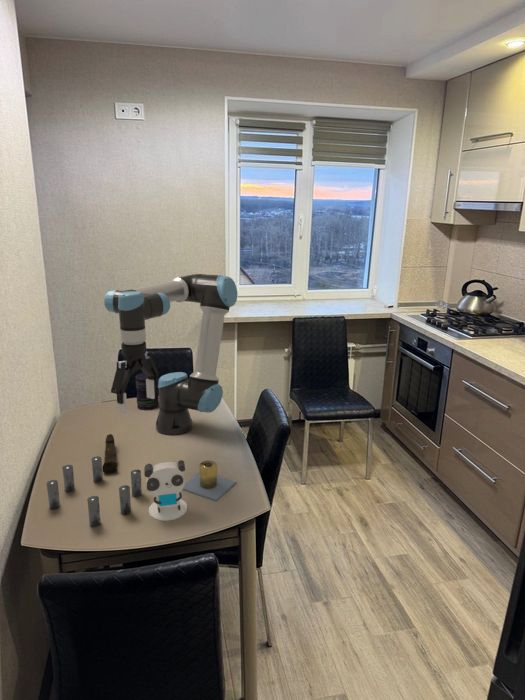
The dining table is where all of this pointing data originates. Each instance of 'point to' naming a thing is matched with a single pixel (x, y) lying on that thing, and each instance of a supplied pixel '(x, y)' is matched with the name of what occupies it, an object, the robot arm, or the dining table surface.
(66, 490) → the spacer posts
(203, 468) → the gold metal cylinder
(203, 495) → the slate board
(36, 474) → the dining table surface
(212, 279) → the robot arm
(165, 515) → the panda figurine
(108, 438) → the hand tool
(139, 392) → the storage jar
